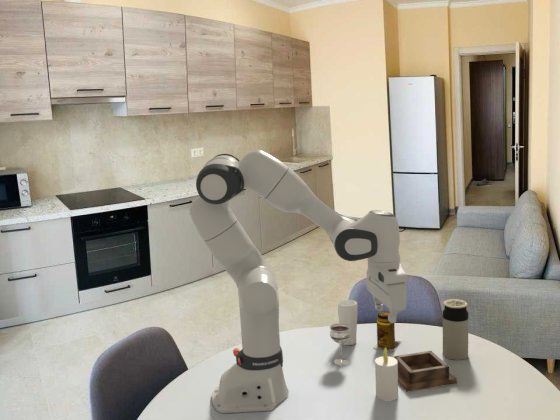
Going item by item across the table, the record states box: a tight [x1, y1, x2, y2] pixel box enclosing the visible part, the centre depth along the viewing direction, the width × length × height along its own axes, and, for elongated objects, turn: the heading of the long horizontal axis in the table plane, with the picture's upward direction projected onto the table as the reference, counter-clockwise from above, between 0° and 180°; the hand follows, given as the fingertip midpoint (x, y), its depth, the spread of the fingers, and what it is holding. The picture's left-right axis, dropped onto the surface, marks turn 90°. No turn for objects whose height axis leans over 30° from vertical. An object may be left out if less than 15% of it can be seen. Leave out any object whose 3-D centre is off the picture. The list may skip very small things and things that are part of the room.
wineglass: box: [329, 322, 351, 366], centre depth 176 cm, size 7×7×12 cm
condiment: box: [373, 310, 401, 352], centre depth 186 cm, size 7×8×12 cm
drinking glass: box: [337, 299, 358, 346], centre depth 190 cm, size 7×7×15 cm
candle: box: [374, 348, 399, 402], centre depth 154 cm, size 6×6×15 cm
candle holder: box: [393, 350, 458, 392], centre depth 164 cm, size 16×14×5 cm
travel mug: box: [442, 298, 469, 361], centre depth 176 cm, size 8×8×18 cm
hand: (385, 316), depth 151 cm, fingers open, 8 cm apart
